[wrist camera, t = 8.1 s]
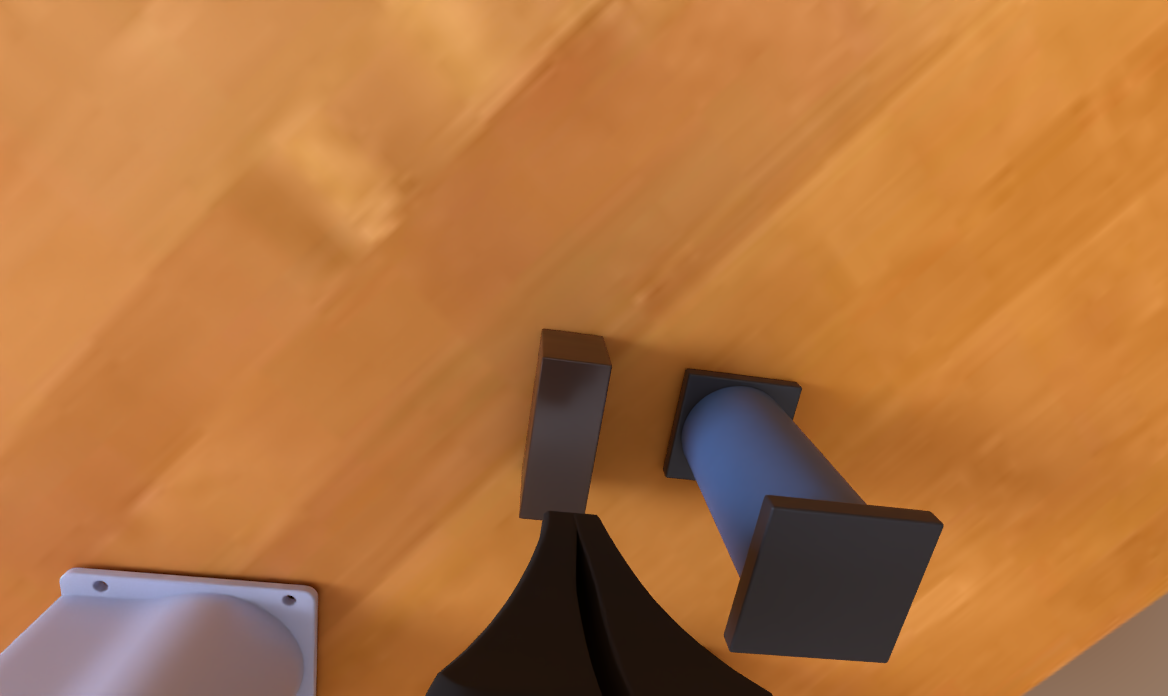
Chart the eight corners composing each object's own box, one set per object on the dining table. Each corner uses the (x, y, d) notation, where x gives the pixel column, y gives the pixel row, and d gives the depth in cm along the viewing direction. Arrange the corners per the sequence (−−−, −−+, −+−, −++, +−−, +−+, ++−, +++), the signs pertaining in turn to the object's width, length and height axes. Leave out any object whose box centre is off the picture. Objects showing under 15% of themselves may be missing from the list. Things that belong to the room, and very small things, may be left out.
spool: (556, 545, 18) (864, 735, 14) (577, 416, 17) (930, 579, 12) (693, 448, 26) (921, 549, 21) (716, 354, 25) (966, 440, 20)
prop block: (521, 473, 24) (518, 519, 21) (542, 327, 22) (542, 356, 19) (577, 479, 24) (582, 524, 21) (603, 336, 22) (612, 365, 19)
